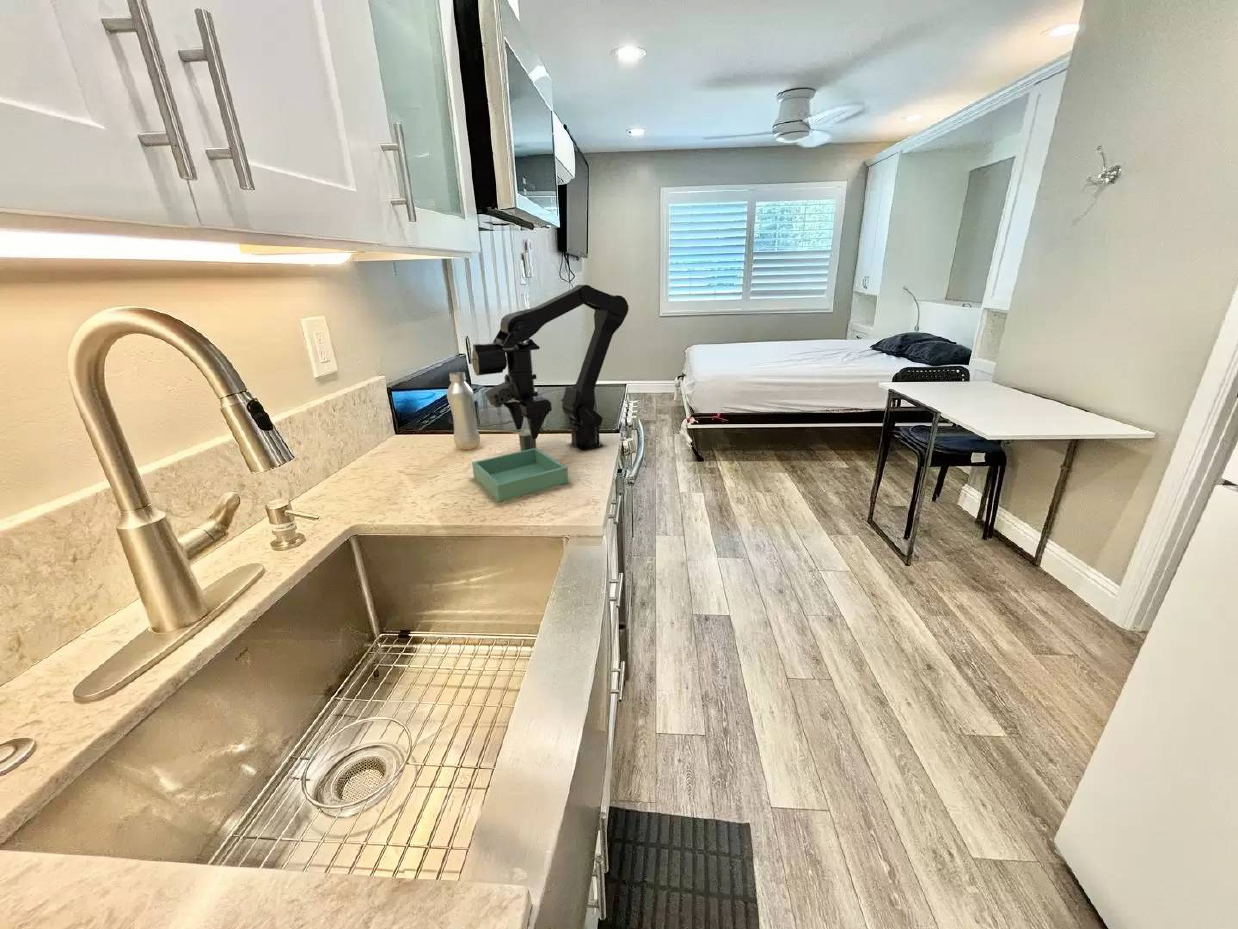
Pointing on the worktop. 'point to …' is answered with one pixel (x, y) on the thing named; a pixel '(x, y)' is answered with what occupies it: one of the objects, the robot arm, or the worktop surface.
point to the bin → (519, 473)
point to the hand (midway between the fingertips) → (526, 433)
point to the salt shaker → (526, 440)
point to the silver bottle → (462, 412)
